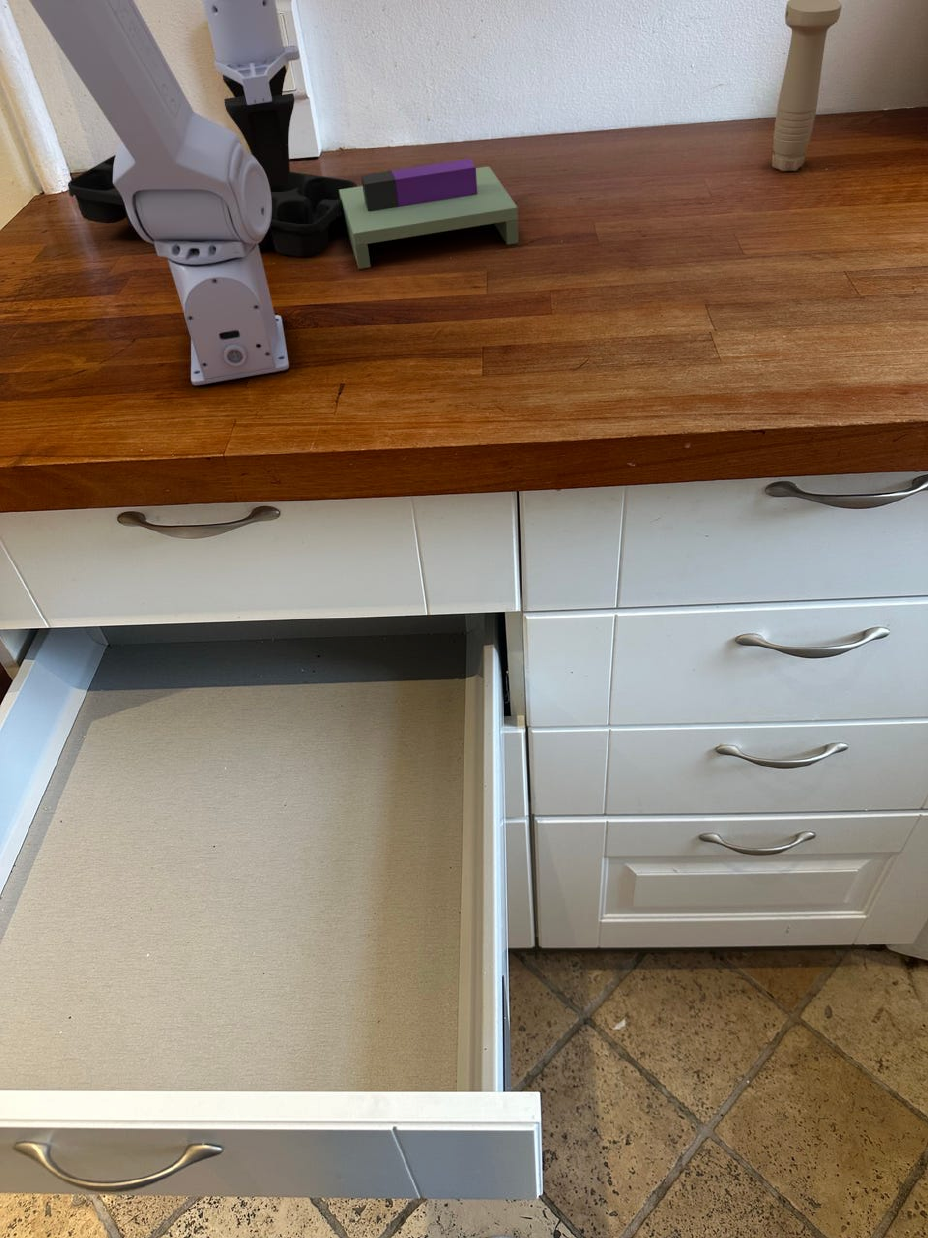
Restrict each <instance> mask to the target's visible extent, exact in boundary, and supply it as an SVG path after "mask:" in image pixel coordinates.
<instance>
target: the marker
mask: <svg viewBox="0 0 928 1238" xmlns="http://www.w3.org/2000/svg"><path fill="white" fill-rule="evenodd" d="M476 168H477V167H476V166H475V164H474V162H473V161H472V159H471V158H463V159H457V160H451V161H444V162H439V163H438V162H437V163H432V164H426V165H417V166H411V167H405V168H400V169H393V170H386V171H379V172H373V173H366V174H362V175H360V178H361V186H363V192H364V199H365V204H366V206H367V209H368V211H375V210H381V209H387V208H394V207H398V206H406V205H412V204H418V203H425V202H431V201H437V200H444V199H450V198H456V197H462V196H469V195H475V194H477V180H476Z"/></svg>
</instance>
